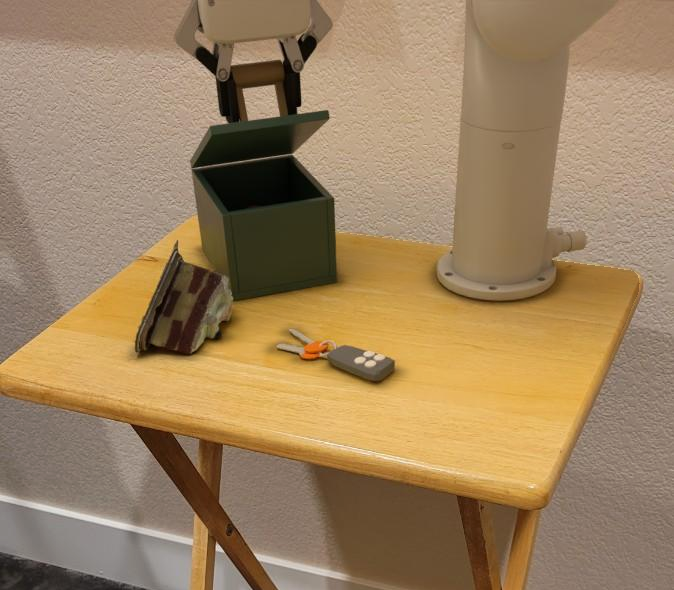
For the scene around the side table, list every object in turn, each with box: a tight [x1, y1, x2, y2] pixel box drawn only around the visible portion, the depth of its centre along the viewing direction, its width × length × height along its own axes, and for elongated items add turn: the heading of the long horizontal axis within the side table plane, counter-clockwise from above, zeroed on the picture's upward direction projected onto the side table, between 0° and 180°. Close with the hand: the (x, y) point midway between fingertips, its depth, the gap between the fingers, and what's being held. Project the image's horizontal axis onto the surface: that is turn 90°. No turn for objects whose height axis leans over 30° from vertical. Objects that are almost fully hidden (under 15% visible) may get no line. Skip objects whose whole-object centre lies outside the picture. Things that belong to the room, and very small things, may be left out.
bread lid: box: [189, 59, 331, 169], centre depth 89 cm, size 16×12×6 cm
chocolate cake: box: [134, 239, 234, 355], centre depth 87 cm, size 10×7×12 cm
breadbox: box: [191, 154, 338, 302], centre depth 95 cm, size 15×12×9 cm
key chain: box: [276, 328, 396, 382], centre depth 82 cm, size 13×4×2 cm, turn 52°
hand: (261, 117), depth 85 cm, fingers closed on bread lid, 5 cm apart
